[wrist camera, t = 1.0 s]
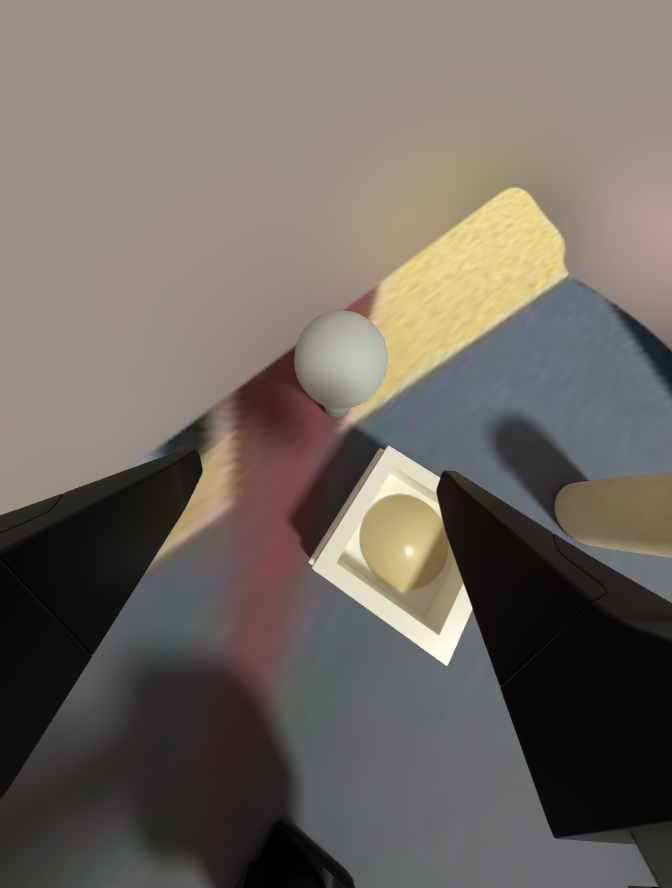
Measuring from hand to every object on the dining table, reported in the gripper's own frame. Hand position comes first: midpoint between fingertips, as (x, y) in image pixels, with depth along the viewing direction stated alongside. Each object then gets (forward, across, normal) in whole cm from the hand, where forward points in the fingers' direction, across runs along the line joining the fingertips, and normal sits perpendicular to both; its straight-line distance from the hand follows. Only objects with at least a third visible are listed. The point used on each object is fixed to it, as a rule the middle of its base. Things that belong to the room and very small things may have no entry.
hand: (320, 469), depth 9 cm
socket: (+7, -7, +12) cm, 15 cm away
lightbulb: (+15, 0, +4) cm, 16 cm away
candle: (+10, -23, +10) cm, 27 cm away
